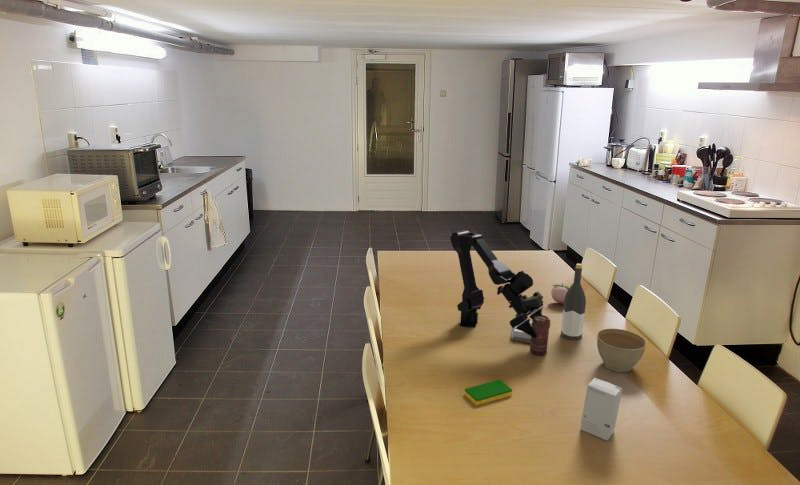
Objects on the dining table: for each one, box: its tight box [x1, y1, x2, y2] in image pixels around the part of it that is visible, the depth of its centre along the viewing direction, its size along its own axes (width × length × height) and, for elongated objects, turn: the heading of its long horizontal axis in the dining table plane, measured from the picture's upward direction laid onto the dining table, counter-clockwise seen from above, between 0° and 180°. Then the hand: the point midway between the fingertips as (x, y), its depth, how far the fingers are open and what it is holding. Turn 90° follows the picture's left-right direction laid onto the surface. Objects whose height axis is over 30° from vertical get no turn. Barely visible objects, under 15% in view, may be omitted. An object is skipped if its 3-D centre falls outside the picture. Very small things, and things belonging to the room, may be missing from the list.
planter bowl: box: [596, 328, 648, 373], centre depth 189 cm, size 16×16×11 cm
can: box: [529, 314, 551, 357], centre depth 198 cm, size 6×6×14 cm
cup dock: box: [510, 321, 532, 344], centre depth 213 cm, size 13×13×4 cm
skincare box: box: [579, 377, 623, 441], centre depth 153 cm, size 8×6×15 cm
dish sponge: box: [464, 379, 513, 406], centre depth 172 cm, size 7×14×2 cm, turn 116°
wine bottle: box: [560, 263, 587, 341], centre depth 210 cm, size 8×8×30 cm
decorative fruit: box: [550, 283, 571, 305], centre depth 243 cm, size 9×8×10 cm
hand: (540, 332), depth 198 cm, fingers open, 9 cm apart
